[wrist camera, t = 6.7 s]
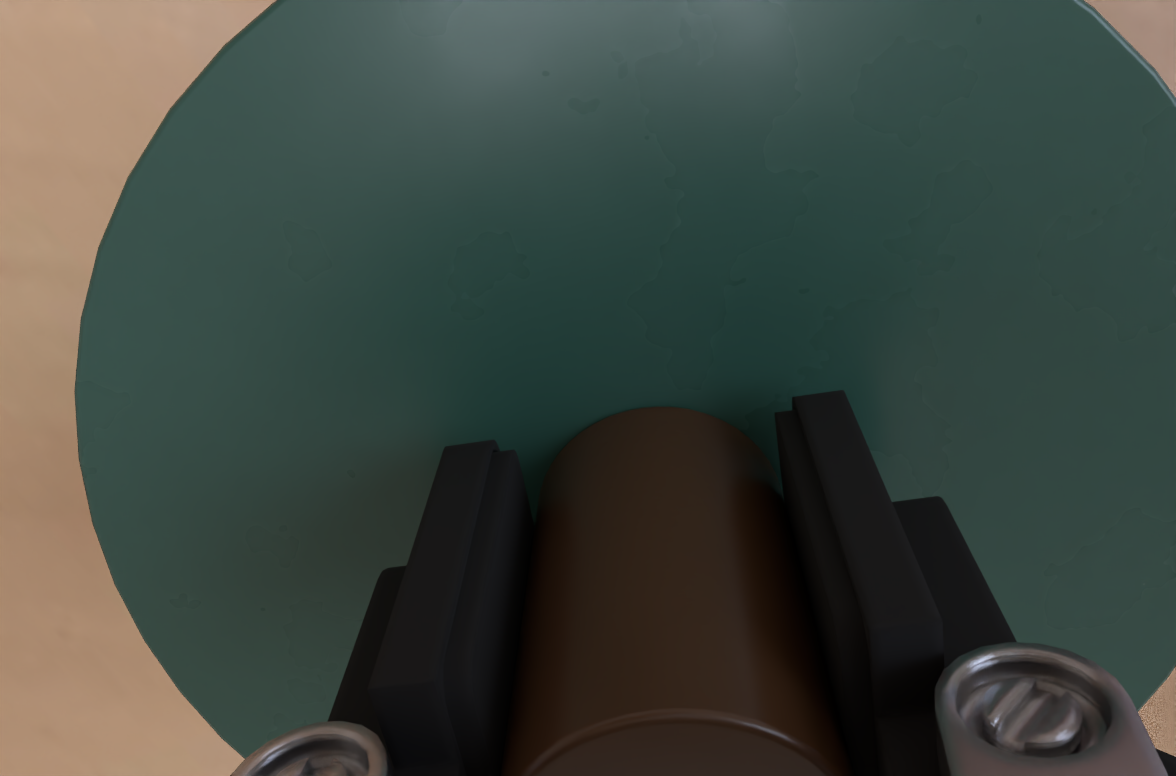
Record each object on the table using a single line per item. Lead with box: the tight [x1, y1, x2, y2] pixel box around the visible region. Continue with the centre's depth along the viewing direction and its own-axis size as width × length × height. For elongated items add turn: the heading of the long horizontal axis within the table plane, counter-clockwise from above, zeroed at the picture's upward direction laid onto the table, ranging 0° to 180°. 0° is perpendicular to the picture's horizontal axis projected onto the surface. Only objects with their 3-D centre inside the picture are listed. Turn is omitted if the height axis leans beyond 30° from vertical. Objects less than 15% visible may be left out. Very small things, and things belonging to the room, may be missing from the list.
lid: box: [75, 0, 1176, 776], centre depth 11 cm, size 13×13×6 cm
